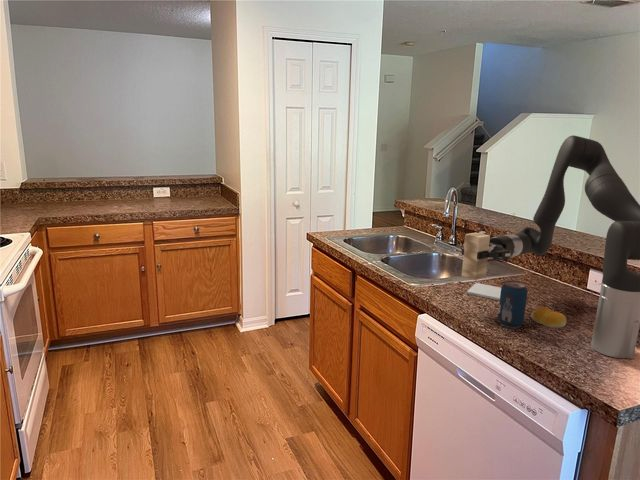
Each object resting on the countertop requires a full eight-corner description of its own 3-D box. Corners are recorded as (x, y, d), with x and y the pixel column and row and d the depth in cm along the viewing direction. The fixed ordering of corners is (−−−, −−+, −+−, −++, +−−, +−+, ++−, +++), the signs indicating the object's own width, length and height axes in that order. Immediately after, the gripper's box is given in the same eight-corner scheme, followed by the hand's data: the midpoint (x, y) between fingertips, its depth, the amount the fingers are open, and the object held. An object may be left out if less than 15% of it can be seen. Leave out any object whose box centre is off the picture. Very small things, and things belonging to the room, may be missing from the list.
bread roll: (556, 331, 131) (558, 318, 130) (526, 320, 138) (528, 307, 137) (572, 325, 136) (574, 311, 135) (542, 314, 143) (544, 302, 142)
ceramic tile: (508, 291, 162) (508, 289, 161) (500, 300, 153) (501, 298, 153) (475, 284, 167) (476, 282, 167) (466, 293, 159) (466, 291, 158)
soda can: (520, 320, 138) (525, 281, 135) (525, 330, 131) (531, 289, 128) (495, 317, 139) (500, 278, 136) (499, 327, 132) (504, 286, 130)
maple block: (485, 277, 144) (490, 235, 141) (475, 280, 141) (479, 237, 138) (472, 273, 148) (476, 232, 145) (461, 275, 145) (465, 234, 142)
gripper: (486, 231, 155) (452, 236, 146) (526, 239, 144) (492, 246, 134) (484, 253, 157) (450, 260, 148) (523, 263, 146) (489, 272, 136)
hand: (470, 253), depth 141 cm, fingers closed on maple block, 5 cm apart
